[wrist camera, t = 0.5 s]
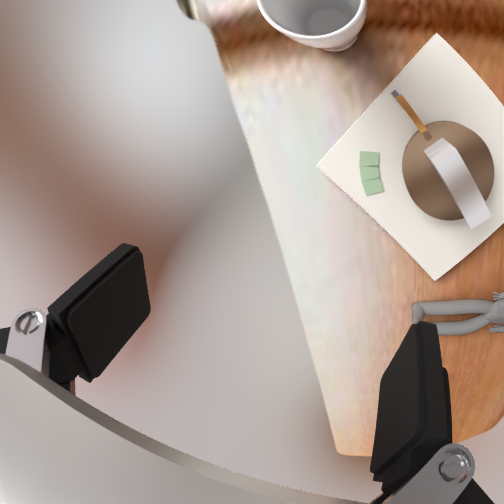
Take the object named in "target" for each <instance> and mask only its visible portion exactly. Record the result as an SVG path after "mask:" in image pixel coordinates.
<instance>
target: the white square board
mask: <svg viewBox="0 0 504 504" xmlns="http://www.w3.org/2000/svg"><path fill="white" fill-rule="evenodd" d="M400 94H402V96H403V97H404V98H405V100H406V101H407V102H408V104H409V105H410V106H411V108H412V109H413V110H414V112H415V113H416V114H417V116H418V117H419V119H420V120H421V121H422V123H423V124H424V126H425V125H427V124H429V123H432V122H436V121H452V122H456V123H459V124H461V125H463V126H465V127H467V128H469V129H471V130H472V131H474V132H475V133H476V134H478V135H479V136H480V137H481V138H482V140H483V141H484V142H485V144H486V145H487V147H488V149H489V151H490V153H491V156H492V159H493V163H494V182H493V186H492V190H491V192H490V194H489V197H488V198H487V200H486V201H485V203H486V205H487V207H488V209H489V211H490V214H491V216H492V217H490V218H489V219H487V220H486V221H484V222H483V223H481V224H480V225H478V226H477V227H475V228H473V229H472V230H471V229H470V227H469V225H468V223H467V222H466V220H465V218H463V219H459V220H453V221H446V220H440V219H437V218H434V217H432V216H429V215H428V214H426V213H425V212H423V211H422V210H421V209H420V208H419V207H418V206H417V205H416V204H415V203H414V201H413V200H412V198H411V196H410V195H409V192H408V190H407V187H406V185H405V182H404V178H403V173H402V158H403V154H404V151H405V148H406V145H407V143H408V141H409V140H410V139H411V137H412V136H413V135H414V134H415V133H416V132H417V131H418V130H419V129H418V128H417V126H416V125H415V124H414V122H413V121H412V119H411V118H410V117H409V115H408V114H407V113H406V111H405V110H404V109H403V107H402V106H401V105H400V104H399V102H398V101H397V100H396V97H398V96H399V95H400ZM316 167H317V168H318V169H319V170H321V171H322V172H323V173H324V174H325V175H326V176H328V177H329V178H330V179H331V180H332V181H333V182H334V183H336V184H337V185H338V186H339V187H340V188H341V189H342V190H343V191H345V192H346V193H347V194H348V195H349V196H350V197H351V198H352V199H353V200H354V201H356V202H357V203H358V204H359V205H360V206H361V207H362V208H363V209H364V210H365V211H366V212H367V213H368V214H369V215H370V216H372V217H373V218H374V219H375V220H376V221H377V222H378V223H379V224H380V225H381V226H382V227H383V228H384V229H385V230H386V231H387V232H388V233H389V234H390V235H391V236H392V237H393V238H394V239H395V240H396V241H397V242H398V243H399V244H400V245H401V246H402V247H403V248H404V249H405V250H406V251H407V252H408V253H409V254H410V255H411V256H412V257H413V258H414V259H415V260H416V261H417V263H418V264H419V265H420V266H421V267H422V268H423V269H424V270H425V271H426V272H427V273H428V274H429V275H430V277H431V278H432V279H433V280H434V281H436V280H437V279H438V278H440V277H441V276H442V275H443V274H445V273H446V272H447V271H449V270H450V269H451V268H452V267H453V266H455V265H456V264H457V263H458V262H460V261H461V260H462V259H463V258H464V257H466V256H467V255H468V254H469V253H470V252H472V251H473V250H474V249H475V248H476V247H477V246H479V245H480V244H481V243H482V242H483V241H484V240H485V239H487V238H488V237H489V236H490V235H491V234H492V233H493V232H494V231H496V230H497V229H498V228H499V227H500V226H501V225H502V224H503V223H504V106H503V105H502V104H501V102H500V101H499V100H498V99H497V97H496V96H495V95H494V94H493V92H492V91H491V90H490V89H489V87H488V86H487V85H486V84H485V83H484V82H483V80H482V79H481V78H480V77H479V76H478V75H477V73H476V72H475V71H474V70H473V69H472V68H471V67H470V66H469V65H468V64H467V63H466V61H465V60H464V59H463V58H462V57H461V56H460V55H459V54H458V53H457V52H456V51H455V50H454V49H453V48H452V47H451V46H450V45H449V44H448V43H447V42H446V41H445V40H444V39H443V38H442V37H440V36H439V35H438V34H437V33H436V34H435V35H433V36H432V37H431V39H430V40H429V41H428V42H427V43H426V44H425V45H424V46H423V47H422V48H421V50H420V51H419V52H418V53H417V54H416V55H415V56H414V57H413V58H412V59H411V60H410V62H409V63H408V64H407V65H406V66H405V67H404V68H403V69H402V70H401V71H400V73H399V74H398V75H397V76H396V77H395V78H394V79H393V80H392V81H391V83H390V84H389V85H388V86H387V87H386V88H385V89H384V90H383V91H382V92H381V94H380V95H379V96H378V97H377V98H376V99H375V100H374V101H373V102H372V104H371V105H370V106H369V107H368V108H367V109H366V110H365V111H364V112H363V114H362V115H361V116H360V117H359V118H358V119H357V120H356V121H355V122H354V124H353V125H352V126H351V127H350V128H349V129H348V130H347V131H346V133H345V134H344V135H343V136H342V137H341V138H340V139H339V140H338V141H337V143H336V144H335V145H334V146H333V147H332V148H331V149H330V150H329V152H328V153H327V154H326V155H325V156H324V157H323V158H322V159H321V161H320V162H319V163H318V164H317V166H316Z"/></svg>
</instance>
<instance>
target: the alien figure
mask: <svg viewBox="0 0 504 504" xmlns="http://www.w3.org/2000/svg"><path fill="white" fill-rule="evenodd" d="M493 293H495V294H498V295H494V296H493V297H499V298H494V299H493V300H497V299H499V300H497V301H496V302H493V301H488V300H481V299H460V300H449V301H423V302H415V303H414V304H413V305H412V321H413V323H415V324H417V323H418V322H419V321H421V320H422V319H423V317H424V314H426V315H456V314H471V313H481V314H480V315H478V316H476V317H473V318H471V319H467V320H462V321H447V322H429V323H433V324H436V326H437V330H438V335H462V334H468V333H471V332H474V331H476V330H479V329H481V328H482V327H484V326H486V325H487V324H489V323H496V324H504V291H503V292H502V293H501V294H500V293H497V292H493ZM494 327H495V328H490V329H494V330H489V333H492V332H504V325H502V326H497V325H496V326H494Z"/></svg>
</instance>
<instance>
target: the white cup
mask: <svg viewBox="0 0 504 504" xmlns="http://www.w3.org/2000/svg"><path fill="white" fill-rule="evenodd" d="M257 3H258V6H259V9H260V11H261V13H262V15H263V16H264V18H265V19H266V20H267V21H268V22H269V24H271V25H272V26H273V27H274V28H275V29H277V30H278V31H279V32H281V33H282V34H284V35H285V36H287V37H288V38H290V39H292V40H294V41H296V42H298V43H301V44H303V45H306V46H310V47H315V48H321V49H323V50H327V51H334V52H336V51H342V50H345V49H347V48H349V47H350V46H351V45H353V43H354V42H355V41H356V39H357V37H358V33H359V32H360V30H361V29H362V27H363V25H364V22H365V19H366V15H367V0H257Z"/></svg>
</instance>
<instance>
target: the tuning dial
mask: <svg viewBox="0 0 504 504" xmlns="http://www.w3.org/2000/svg"><path fill="white" fill-rule="evenodd" d="M396 100H397V101H398V102H399V104H400V105H401V106H402V107H403V109H404V110H405V111H406V113H407V114H408V115H409V117H410V118H411V119H412V121H413V122H414V124H415V125H416V126H417V128H418V129H419V130H418V131H417V132H416V133H415V134H414V135H413V136H412V137H411V139H410V140H409V141H408V143H407V145H406V148H405V151H404V154H403V158H402V173H403V178H404V182H405V185H406V187H407V190H408V192H409V195H410V196H411V198H412V200H413V201H414V203H415V204H416V205H417V206H418V207H419V208H420V209H421V210H422V211H423V212H425V213H426V214H428V215H429V216H432V217H434V218H437V219H440V220H446V221H453V220H459V219H463V218H465V220H466V222H467V223H468V225H469V227H470V229H471V230H472V229H473V228H475V227H477V226H478V225H480V224H481V223H483V222H484V221H486V220H487V219H489V218H490V217H492V216H491V214H490V211H489V209H488V207H487V205H486V203H485V201H486V200H487V198H488V197H489V194H490V192H491V190H492V186H493V182H494V163H493V159H492V156H491V153H490V151H489V149H488V147H487V145H486V144H485V142H484V141H483V140H482V138H481V137H480V136H479V135H478V134H476V133H475V132H474V131H472V130H471V129H469V128H467V127H465V126H463V125H461V124H459V123H456V122H452V121H436V122H432V123H429V124H427V125H425V126H424V124H423V123H422V121H421V120H420V119H419V117H418V116H417V114H416V113H415V112H414V110H413V109H412V108H411V106H410V105H409V104H408V102H407V101H406V100H405V98H404V97H403V96H402V94H400V95H399V96H398V97H396Z"/></svg>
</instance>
